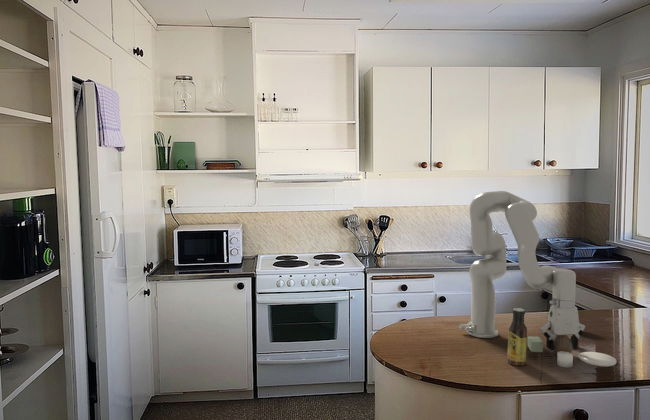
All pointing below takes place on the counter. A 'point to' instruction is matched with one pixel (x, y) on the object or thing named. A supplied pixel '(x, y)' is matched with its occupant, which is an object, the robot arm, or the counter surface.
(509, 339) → the sauce bottle
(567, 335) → the walnut block
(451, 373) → the counter surface
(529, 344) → the sage block
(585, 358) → the disc
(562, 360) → the plastic tub
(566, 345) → the vase
